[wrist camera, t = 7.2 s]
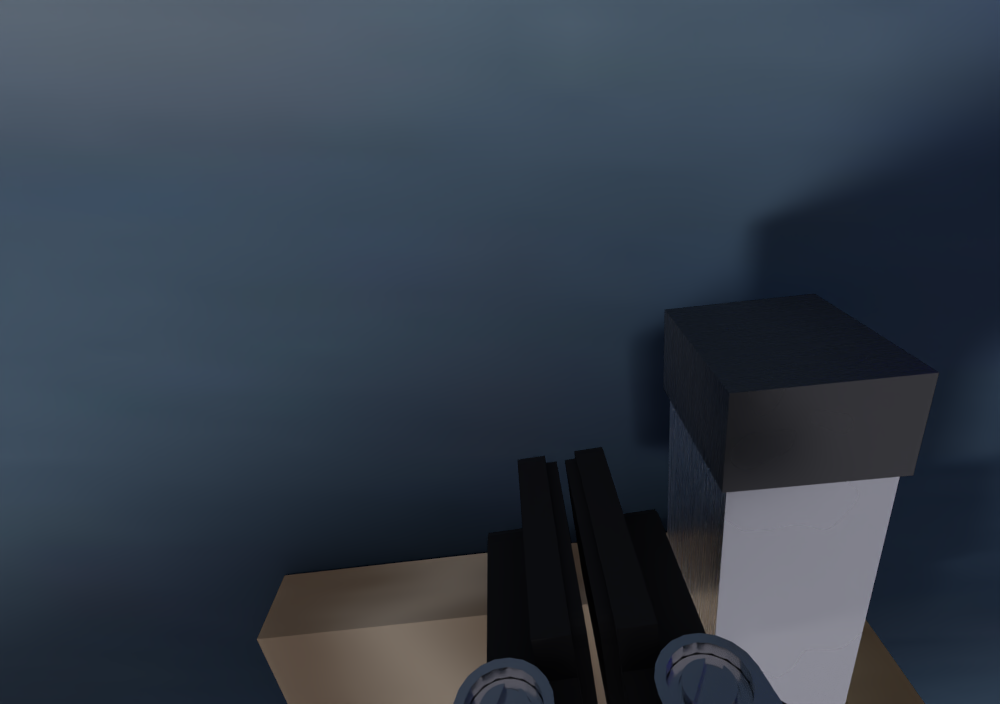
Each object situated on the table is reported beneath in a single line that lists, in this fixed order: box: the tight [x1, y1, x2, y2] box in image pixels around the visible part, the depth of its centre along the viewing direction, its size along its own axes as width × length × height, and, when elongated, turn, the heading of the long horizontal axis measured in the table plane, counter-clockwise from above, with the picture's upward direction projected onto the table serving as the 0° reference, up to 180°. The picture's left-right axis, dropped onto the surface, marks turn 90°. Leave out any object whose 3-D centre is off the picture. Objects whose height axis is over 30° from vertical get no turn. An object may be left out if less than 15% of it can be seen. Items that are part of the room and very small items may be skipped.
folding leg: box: [664, 294, 939, 704], centre depth 11 cm, size 13×3×3 cm, turn 6°
